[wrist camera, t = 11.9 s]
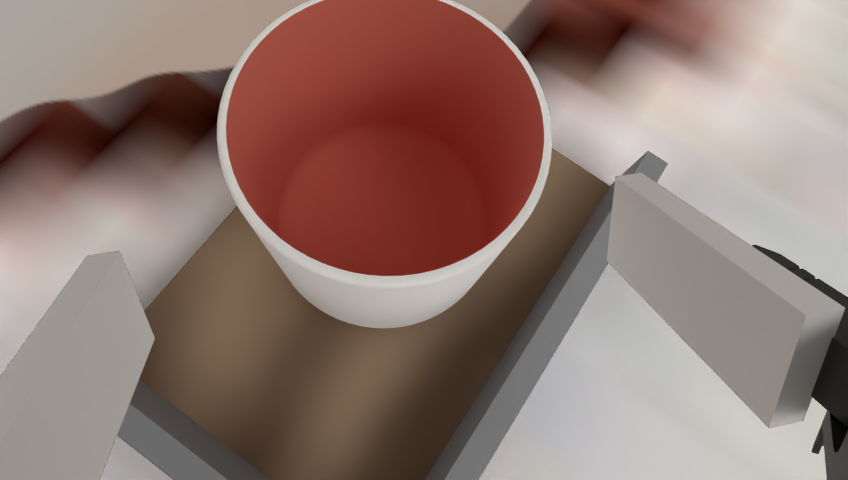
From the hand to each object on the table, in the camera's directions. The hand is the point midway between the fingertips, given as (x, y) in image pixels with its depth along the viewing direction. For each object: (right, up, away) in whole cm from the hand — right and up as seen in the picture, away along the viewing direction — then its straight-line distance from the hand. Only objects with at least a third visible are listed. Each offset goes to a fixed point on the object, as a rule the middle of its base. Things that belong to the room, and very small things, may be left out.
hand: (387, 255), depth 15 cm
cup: (-1, +1, +11) cm, 11 cm away
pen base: (-1, -2, +11) cm, 12 cm away
